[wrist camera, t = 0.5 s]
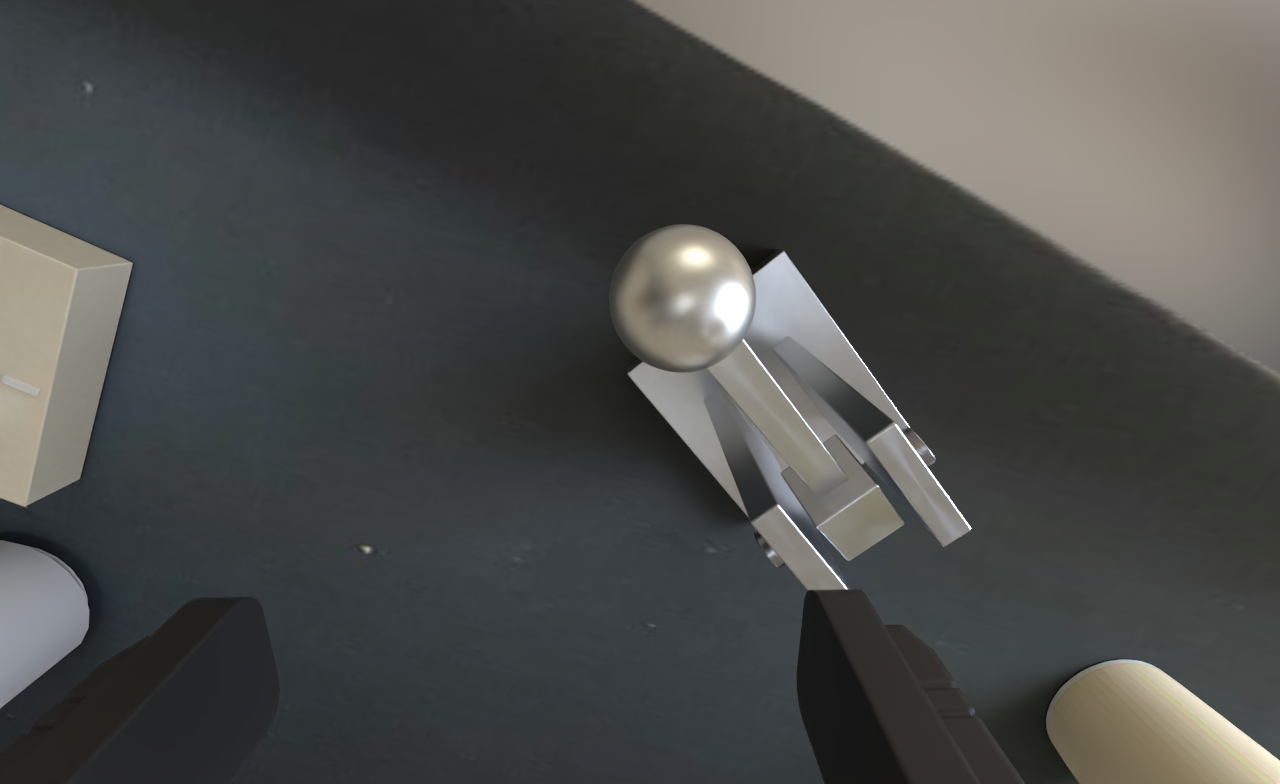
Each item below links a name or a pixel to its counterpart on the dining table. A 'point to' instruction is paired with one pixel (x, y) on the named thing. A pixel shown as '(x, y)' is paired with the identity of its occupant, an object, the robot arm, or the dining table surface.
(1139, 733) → the coffee cup
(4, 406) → the panel
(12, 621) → the can
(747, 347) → the tap lever
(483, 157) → the dining table surface
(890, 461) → the tap bracket
